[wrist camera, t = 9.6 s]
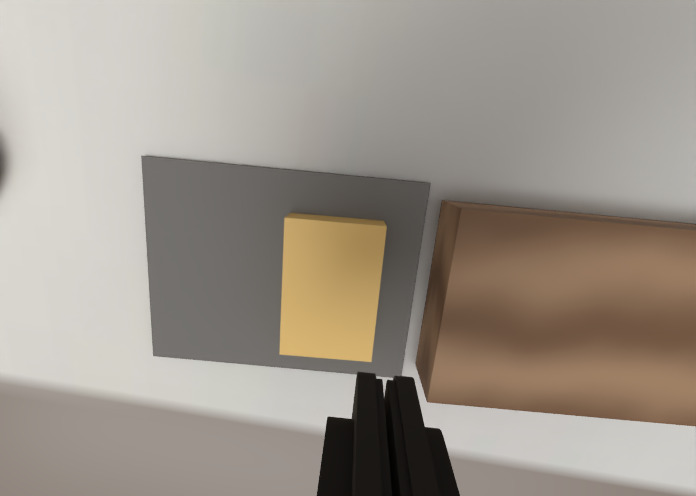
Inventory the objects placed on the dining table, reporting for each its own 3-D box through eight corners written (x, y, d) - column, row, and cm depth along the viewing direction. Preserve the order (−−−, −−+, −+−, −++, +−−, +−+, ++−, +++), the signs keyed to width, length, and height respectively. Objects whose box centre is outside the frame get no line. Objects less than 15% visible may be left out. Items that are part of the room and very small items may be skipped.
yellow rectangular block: (386, 226, 20) (383, 220, 22) (284, 217, 20) (290, 212, 22) (371, 362, 22) (369, 345, 24) (279, 354, 22) (285, 338, 24)
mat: (145, 156, 21) (141, 155, 21) (428, 182, 21) (430, 183, 21) (156, 352, 25) (153, 356, 24) (400, 375, 25) (400, 378, 24)
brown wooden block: (442, 200, 22) (461, 208, 18) (749, 229, 22) (835, 243, 18) (415, 364, 25) (427, 402, 21) (685, 388, 25) (747, 430, 21)
